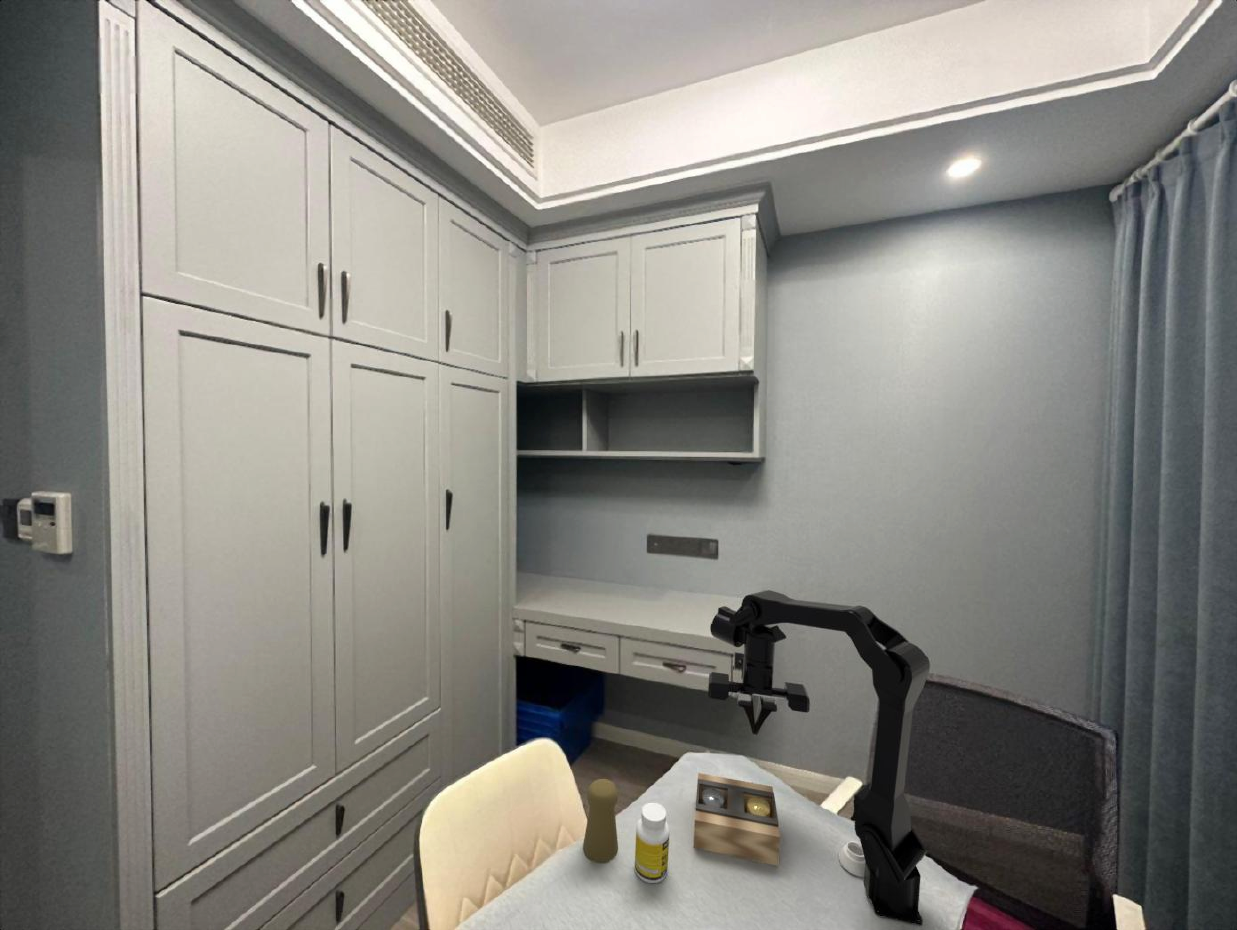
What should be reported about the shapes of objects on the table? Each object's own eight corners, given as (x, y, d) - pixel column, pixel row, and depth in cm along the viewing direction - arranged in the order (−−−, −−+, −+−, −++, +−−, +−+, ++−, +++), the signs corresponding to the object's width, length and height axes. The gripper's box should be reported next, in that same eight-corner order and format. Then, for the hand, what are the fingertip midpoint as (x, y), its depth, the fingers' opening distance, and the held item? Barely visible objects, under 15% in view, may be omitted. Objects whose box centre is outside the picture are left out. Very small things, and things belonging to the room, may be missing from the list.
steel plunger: (723, 815, 89) (724, 791, 88) (723, 832, 85) (724, 807, 85) (701, 811, 90) (702, 786, 89) (700, 828, 86) (701, 802, 85)
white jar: (879, 875, 78) (855, 850, 83) (880, 858, 78) (856, 833, 83) (854, 882, 77) (832, 856, 82) (855, 865, 77) (833, 840, 81)
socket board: (771, 811, 91) (772, 784, 90) (778, 866, 79) (780, 834, 79) (696, 797, 94) (698, 771, 93) (693, 847, 82) (694, 817, 82)
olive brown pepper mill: (586, 830, 85) (589, 770, 84) (620, 835, 84) (623, 775, 83) (579, 860, 79) (581, 795, 78) (615, 865, 78) (618, 801, 77)
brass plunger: (767, 824, 87) (769, 799, 87) (769, 842, 83) (771, 816, 83) (745, 820, 88) (746, 795, 88) (746, 837, 84) (747, 811, 84)
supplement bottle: (666, 888, 74) (668, 828, 74) (631, 881, 75) (634, 821, 75) (669, 859, 80) (671, 802, 79) (637, 852, 81) (639, 796, 80)
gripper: (802, 645, 99) (798, 718, 100) (711, 634, 103) (707, 704, 104) (812, 669, 88) (807, 751, 89) (710, 656, 92) (706, 734, 93)
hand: (754, 733), depth 94 cm, fingers closed
